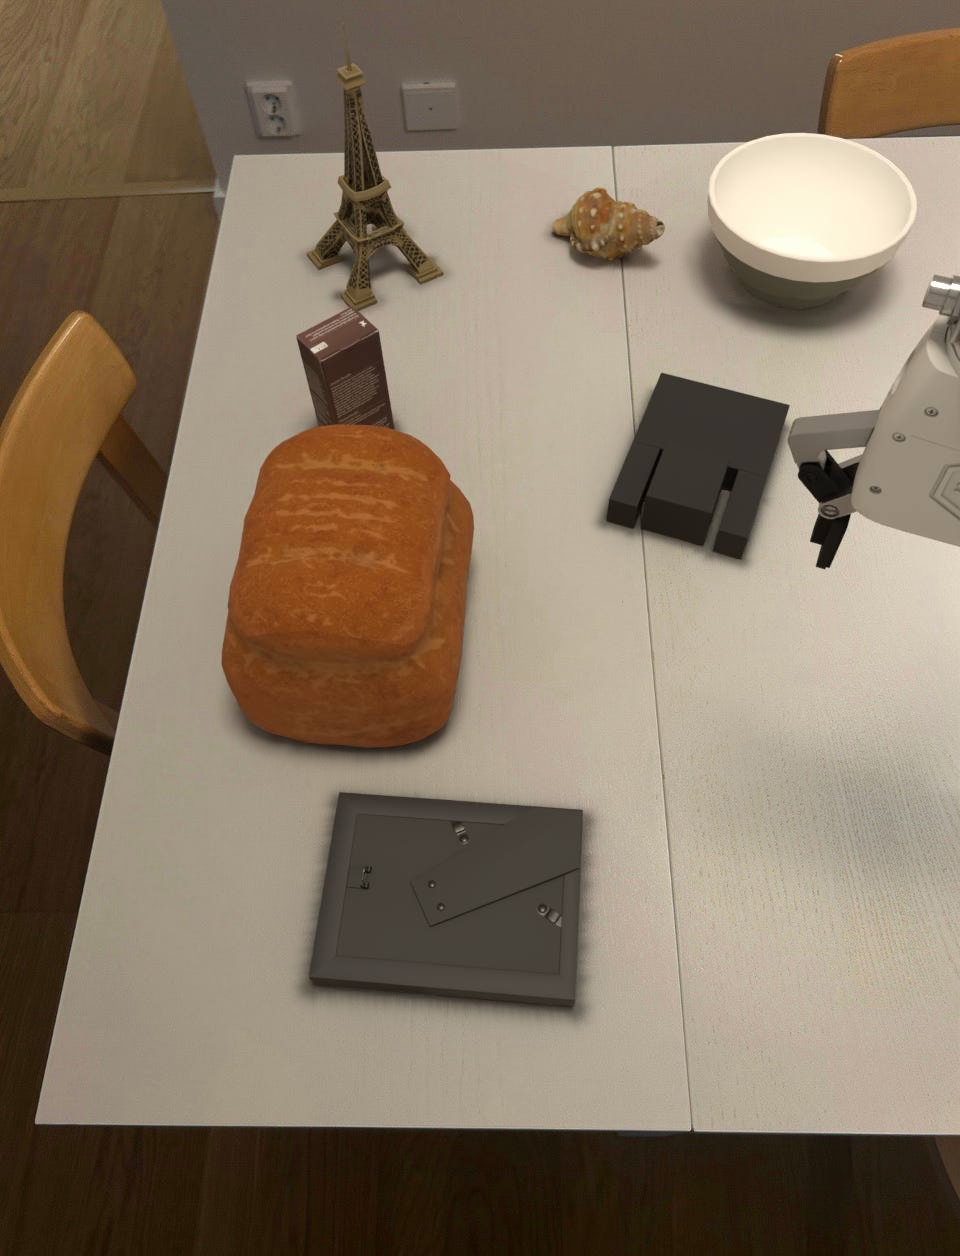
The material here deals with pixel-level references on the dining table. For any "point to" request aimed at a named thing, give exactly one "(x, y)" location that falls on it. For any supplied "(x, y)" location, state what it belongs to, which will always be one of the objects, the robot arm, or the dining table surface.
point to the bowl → (807, 215)
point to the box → (346, 371)
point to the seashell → (607, 226)
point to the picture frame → (451, 899)
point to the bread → (350, 590)
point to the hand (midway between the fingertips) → (916, 573)
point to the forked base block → (713, 427)
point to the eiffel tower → (364, 203)
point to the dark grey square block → (684, 493)
